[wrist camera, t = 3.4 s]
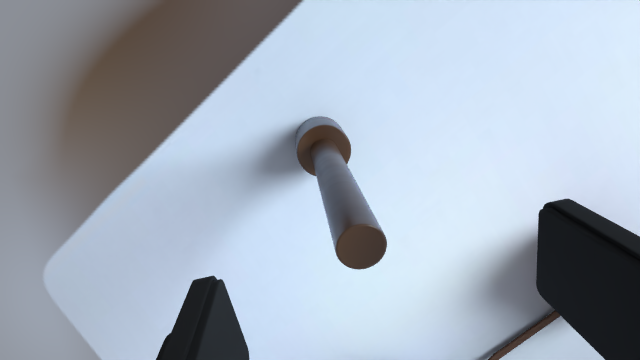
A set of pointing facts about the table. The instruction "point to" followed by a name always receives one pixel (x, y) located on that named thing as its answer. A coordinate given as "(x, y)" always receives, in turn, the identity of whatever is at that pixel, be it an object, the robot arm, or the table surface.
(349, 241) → the stirring stick
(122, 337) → the table surface
